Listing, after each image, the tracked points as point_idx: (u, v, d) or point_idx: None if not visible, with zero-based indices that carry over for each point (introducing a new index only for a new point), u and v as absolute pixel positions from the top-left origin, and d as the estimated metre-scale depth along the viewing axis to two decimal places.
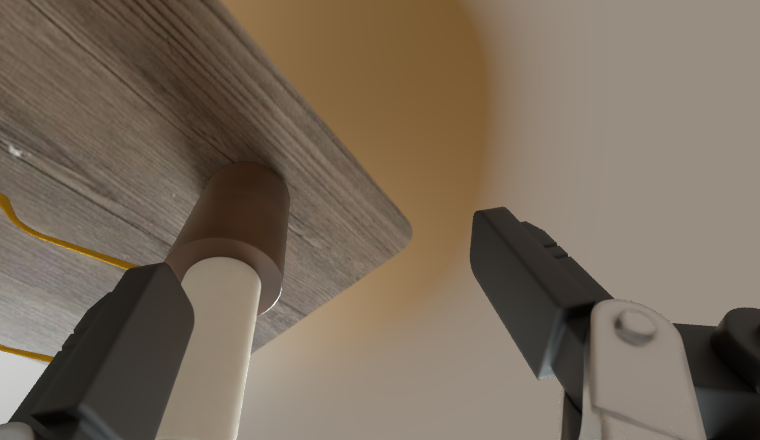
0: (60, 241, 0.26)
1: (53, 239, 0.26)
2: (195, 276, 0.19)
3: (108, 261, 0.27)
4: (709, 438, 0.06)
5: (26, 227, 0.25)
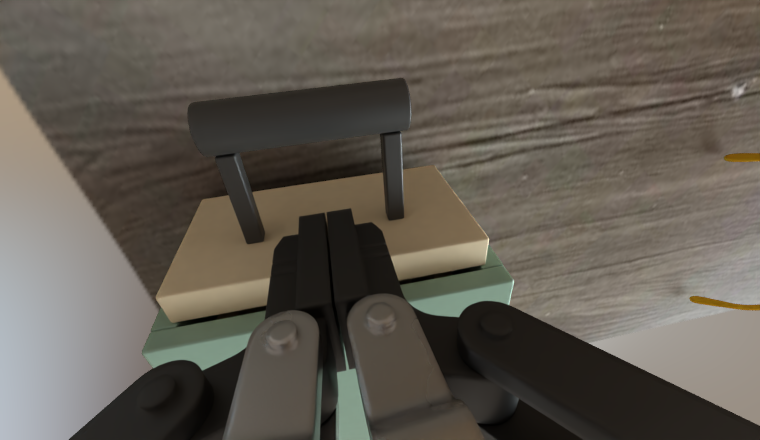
0: None
1: None
2: None
3: None
4: (491, 433, 0.06)
5: None
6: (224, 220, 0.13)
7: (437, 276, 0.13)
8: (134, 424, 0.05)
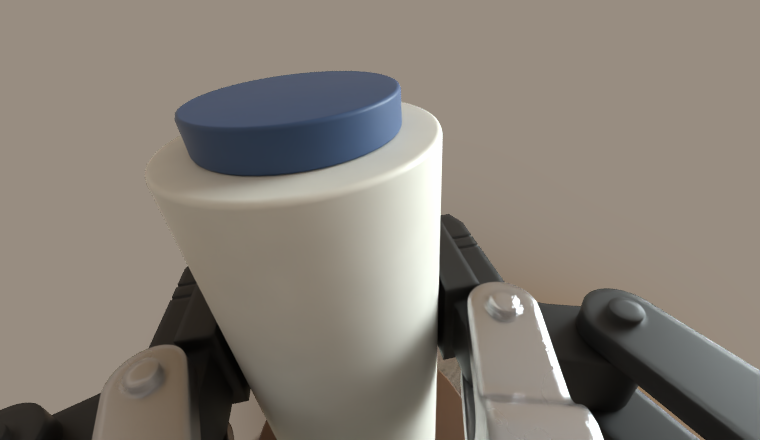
0: None
1: None
2: None
3: None
4: (592, 416, 0.06)
5: None
6: None
7: None
8: None
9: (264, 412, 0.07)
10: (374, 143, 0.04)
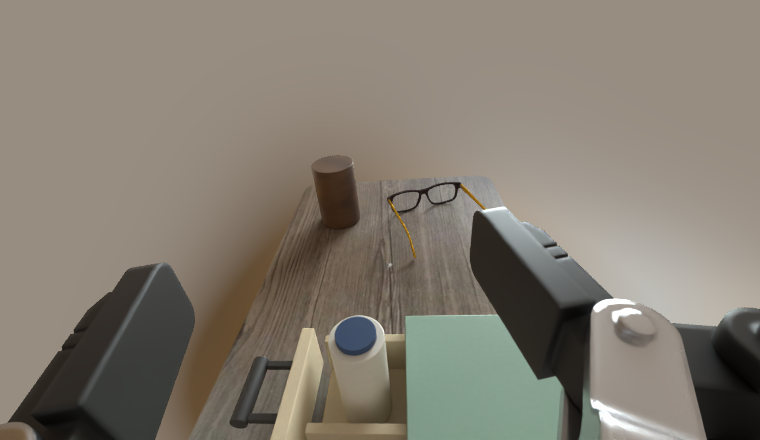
0: (402, 224, 0.54)
1: (403, 225, 0.54)
2: (345, 410, 0.30)
3: (395, 211, 0.57)
4: (709, 438, 0.06)
5: (407, 233, 0.53)
6: None
7: None
8: None
9: (344, 395, 0.28)
10: (371, 347, 0.25)
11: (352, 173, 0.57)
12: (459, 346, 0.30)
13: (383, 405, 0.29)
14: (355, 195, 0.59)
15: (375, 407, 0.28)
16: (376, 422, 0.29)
